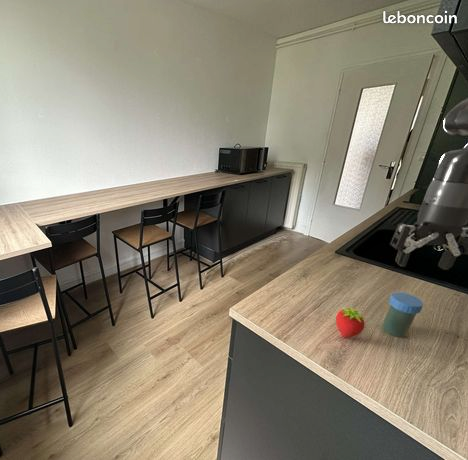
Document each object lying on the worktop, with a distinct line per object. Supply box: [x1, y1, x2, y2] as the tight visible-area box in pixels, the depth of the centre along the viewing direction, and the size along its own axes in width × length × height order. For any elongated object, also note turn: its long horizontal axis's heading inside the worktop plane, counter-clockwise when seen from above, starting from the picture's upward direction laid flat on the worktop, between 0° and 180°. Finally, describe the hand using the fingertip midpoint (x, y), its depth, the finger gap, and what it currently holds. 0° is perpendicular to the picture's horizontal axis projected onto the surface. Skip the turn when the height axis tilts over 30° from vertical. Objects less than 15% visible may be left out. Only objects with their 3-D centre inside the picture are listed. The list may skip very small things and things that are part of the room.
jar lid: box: [388, 291, 424, 315], centre depth 64 cm, size 6×6×2 cm
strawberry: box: [335, 306, 367, 339], centre depth 65 cm, size 6×8×10 cm
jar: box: [381, 303, 417, 339], centre depth 66 cm, size 5×5×10 cm
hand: (421, 266), depth 60 cm, fingers open, 8 cm apart
